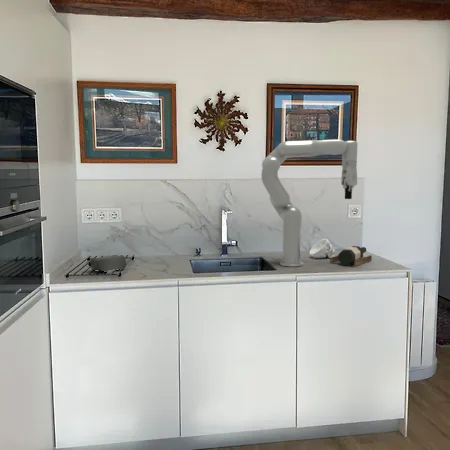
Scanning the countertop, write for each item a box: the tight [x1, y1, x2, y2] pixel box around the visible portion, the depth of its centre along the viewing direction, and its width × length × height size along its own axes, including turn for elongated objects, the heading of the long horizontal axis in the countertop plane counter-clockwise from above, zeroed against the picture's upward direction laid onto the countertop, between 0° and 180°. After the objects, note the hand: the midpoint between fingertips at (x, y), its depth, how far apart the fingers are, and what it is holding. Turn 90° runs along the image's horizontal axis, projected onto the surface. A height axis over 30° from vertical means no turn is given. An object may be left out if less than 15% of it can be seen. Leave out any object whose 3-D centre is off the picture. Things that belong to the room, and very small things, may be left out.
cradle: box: [329, 254, 373, 268], centre depth 245 cm, size 15×20×3 cm
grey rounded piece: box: [87, 254, 127, 272], centre depth 231 cm, size 18×11×8 cm, turn 134°
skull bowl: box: [309, 238, 336, 259], centre depth 259 cm, size 10×14×12 cm
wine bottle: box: [337, 245, 367, 266], centre depth 246 cm, size 8×8×30 cm
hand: (348, 198), depth 238 cm, fingers closed
